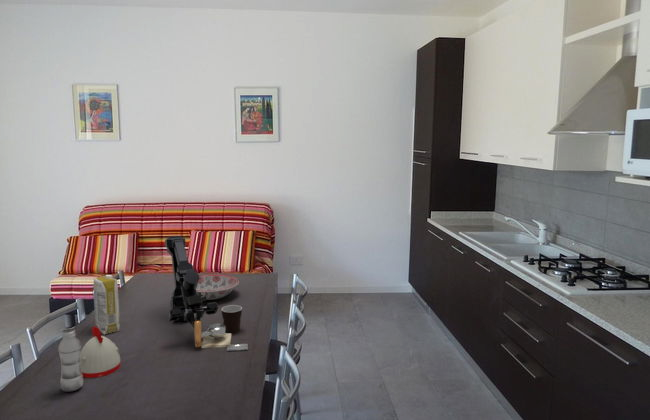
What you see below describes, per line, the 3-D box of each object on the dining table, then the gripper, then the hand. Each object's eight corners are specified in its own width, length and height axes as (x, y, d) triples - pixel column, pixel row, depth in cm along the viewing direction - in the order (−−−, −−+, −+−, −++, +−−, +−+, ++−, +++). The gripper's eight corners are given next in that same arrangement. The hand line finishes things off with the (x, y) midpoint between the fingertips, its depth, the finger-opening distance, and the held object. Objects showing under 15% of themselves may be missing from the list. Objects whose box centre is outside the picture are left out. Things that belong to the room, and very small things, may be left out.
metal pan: (218, 333, 194) (217, 310, 193) (229, 337, 190) (228, 314, 188) (190, 344, 183) (189, 319, 182) (201, 349, 179) (200, 324, 178)
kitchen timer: (112, 355, 176) (110, 317, 174) (127, 368, 166) (124, 328, 164) (72, 367, 166) (69, 327, 164) (85, 382, 157) (82, 339, 155)
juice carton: (122, 331, 198) (119, 276, 195) (102, 336, 193) (99, 280, 189) (112, 324, 205) (109, 271, 201) (93, 330, 199) (90, 275, 195)
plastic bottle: (66, 384, 155) (62, 326, 152) (87, 383, 156) (83, 326, 153) (56, 394, 149) (52, 335, 146) (79, 394, 149) (75, 334, 146)
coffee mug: (237, 336, 195) (237, 313, 194) (218, 334, 197) (218, 311, 195) (247, 325, 206) (247, 303, 205) (229, 323, 208) (229, 302, 207)
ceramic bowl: (250, 294, 247) (250, 280, 246) (209, 311, 223) (209, 295, 221) (211, 285, 262) (211, 271, 261) (168, 299, 238) (168, 284, 237)
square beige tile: (201, 348, 183) (201, 341, 183) (204, 336, 194) (204, 329, 193) (230, 346, 185) (229, 339, 184) (231, 335, 196) (231, 328, 195)
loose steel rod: (226, 348, 180) (227, 343, 182) (227, 352, 181) (227, 347, 183) (247, 347, 181) (247, 342, 183) (247, 351, 183) (247, 346, 185)
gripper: (168, 289, 180) (175, 326, 173) (216, 282, 190) (225, 317, 182) (165, 302, 188) (172, 339, 181) (211, 295, 197) (219, 330, 190)
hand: (197, 331), depth 183 cm, fingers closed, pressing on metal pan
